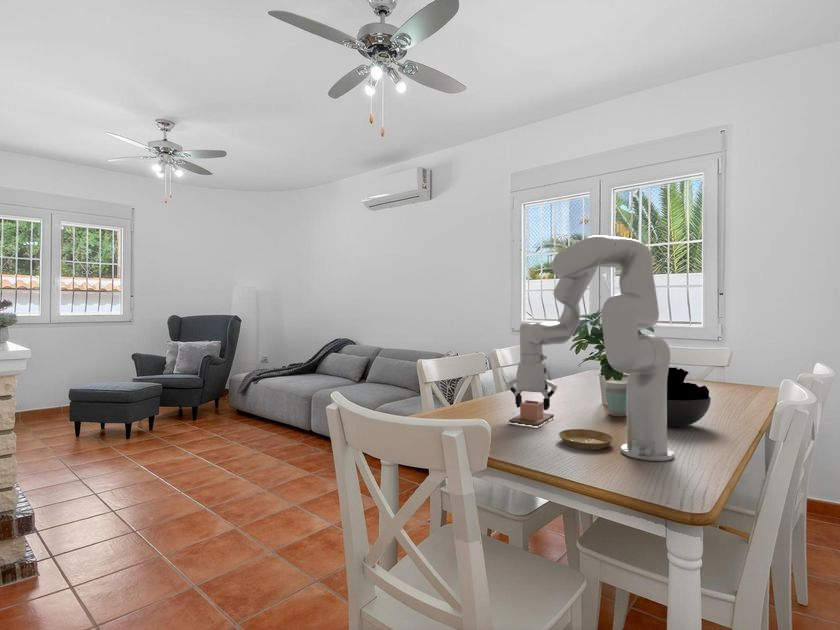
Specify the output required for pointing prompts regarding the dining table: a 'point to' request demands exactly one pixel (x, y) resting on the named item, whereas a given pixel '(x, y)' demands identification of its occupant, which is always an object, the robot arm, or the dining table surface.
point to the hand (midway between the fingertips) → (532, 408)
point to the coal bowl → (685, 399)
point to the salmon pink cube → (531, 410)
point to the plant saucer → (585, 438)
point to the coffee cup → (616, 397)
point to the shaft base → (531, 420)
